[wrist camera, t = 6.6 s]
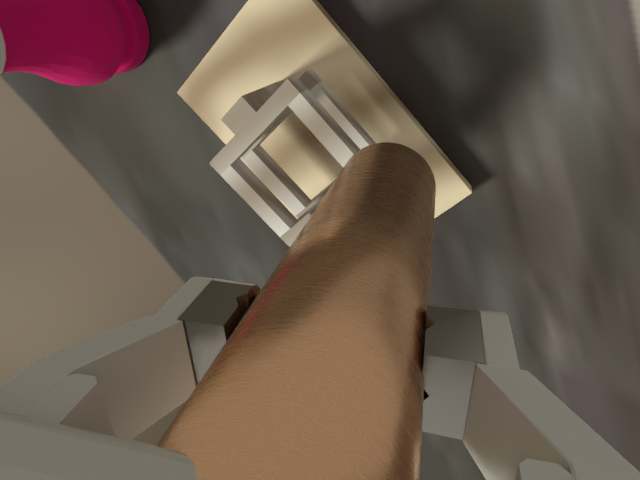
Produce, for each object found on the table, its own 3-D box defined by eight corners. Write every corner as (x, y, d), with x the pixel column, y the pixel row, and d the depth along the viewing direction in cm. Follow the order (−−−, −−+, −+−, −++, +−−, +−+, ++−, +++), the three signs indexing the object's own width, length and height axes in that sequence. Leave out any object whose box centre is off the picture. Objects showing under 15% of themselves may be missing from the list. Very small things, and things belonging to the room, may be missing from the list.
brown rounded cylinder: (440, 144, 15) (388, 1418, 1) (430, 241, 17) (361, 1241, 3) (339, 140, 16) (-317, 909, 2) (339, 233, 18) (-32, 994, 4)
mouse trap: (471, 185, 33) (478, 239, 25) (353, 267, 38) (329, 332, 30) (286, -37, 29) (227, -56, 21) (186, 89, 35) (111, 111, 27)
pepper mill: (84, -47, 32) (-334, -117, 15) (168, 9, 32) (-147, 4, 15) (65, 45, 36) (-288, 75, 19) (141, 95, 36) (-138, 169, 19)
